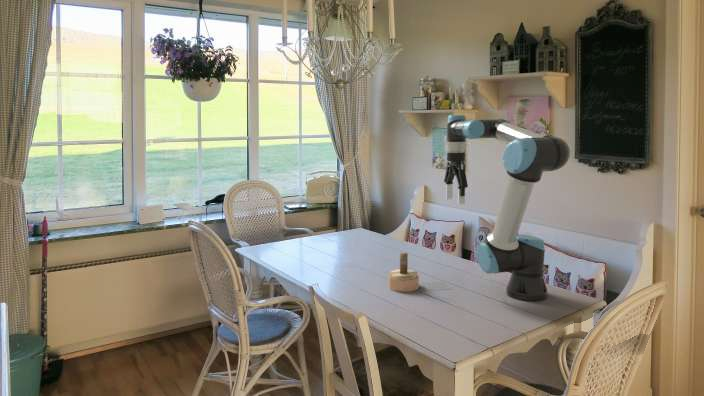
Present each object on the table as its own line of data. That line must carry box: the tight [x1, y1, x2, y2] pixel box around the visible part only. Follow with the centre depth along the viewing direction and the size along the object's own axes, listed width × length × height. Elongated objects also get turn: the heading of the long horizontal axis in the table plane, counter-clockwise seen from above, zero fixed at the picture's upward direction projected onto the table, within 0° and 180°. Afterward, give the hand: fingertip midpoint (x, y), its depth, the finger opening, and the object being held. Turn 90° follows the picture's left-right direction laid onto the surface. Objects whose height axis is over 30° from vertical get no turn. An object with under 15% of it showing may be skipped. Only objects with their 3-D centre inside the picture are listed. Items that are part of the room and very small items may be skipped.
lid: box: [389, 252, 419, 280], centre depth 211 cm, size 11×11×9 cm
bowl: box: [387, 273, 420, 293], centre depth 213 cm, size 12×12×6 cm
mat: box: [419, 281, 452, 292], centre depth 213 cm, size 10×10×1 cm
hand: (455, 201), depth 226 cm, fingers open, 13 cm apart
